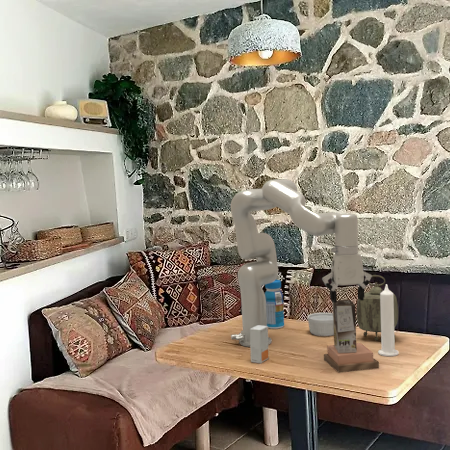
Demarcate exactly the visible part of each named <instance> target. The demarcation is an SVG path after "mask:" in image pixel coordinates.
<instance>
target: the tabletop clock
mask: <svg viewBox="0 0 450 450" xmlns="http://www.w3.org/2000/svg"><path fill="white" fill-rule="evenodd" d="M371 275H372V274H371ZM371 278H381V279H382V280H383V283H379V284H378V282H374V283H371V282H369V283H368V285H370V286H372V287H371V288H370V289H369V291H366V292H364V300H363V301H362V300H360V299H358V298H357V300H356V307H355V312H356V322H357V325H358V328H359V329H360V330H362V331H364V332H363V333H362V335H363V336H364V337H367V336H368V332H371V333H375V336H374V337H373V340H374V341H376V342H377V341H379V337H378V334H379V333H381V306H380V293H381V292H383V291H384V290H383V288H382V286H384V285H386V284H385V283H386V278H385V277H383V276H382V275H379V274H373V275H372V277H371ZM393 298H394V329H395V328H396V326H397V324H398V321H399V303H398V300H397V299H398V298H397V296H396V294H394V293H393ZM395 337H396V335H395V334H394V338H395Z"/></svg>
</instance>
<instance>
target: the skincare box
mask: <svg viewBox="0 0 450 450" xmlns="http://www.w3.org/2000/svg"><path fill="white" fill-rule="evenodd" d="M268 337H269V328H268V326H261V325H257V326H255V327H253V328H251V329H250V347H249V348H250V362H251V363H257V364H262V363H264V362H265V361H267V360H269V359H270V358H269V357H270V355H269V345H268Z"/></svg>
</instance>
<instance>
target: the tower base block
mask: <svg viewBox="0 0 450 450" xmlns="http://www.w3.org/2000/svg"><path fill="white" fill-rule="evenodd" d="M373 359H374V362H363V363H352V364H341V365H338V364H337V363H336V362H335V361H334V360H333V359H332V358H331V357H330V356H329V355H328V353H323V361H324V362H325V363H326V364H328V365H329V366H330V367H332V368H333V369H334V370H335V371H336V372H337V373H338V374H339V373H349V372H350V373H351V372H359V371H367V370H375V369H380V361H379V360H377V359H376V358H374V357H373Z"/></svg>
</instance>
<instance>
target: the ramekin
mask: <svg viewBox="0 0 450 450" xmlns="http://www.w3.org/2000/svg"><path fill="white" fill-rule="evenodd" d="M307 321H308V329H309V332H310V333H311V335H314V336H317V337H332V336H334V327H333V312H315V313H311V314H308V315H307Z"/></svg>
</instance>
